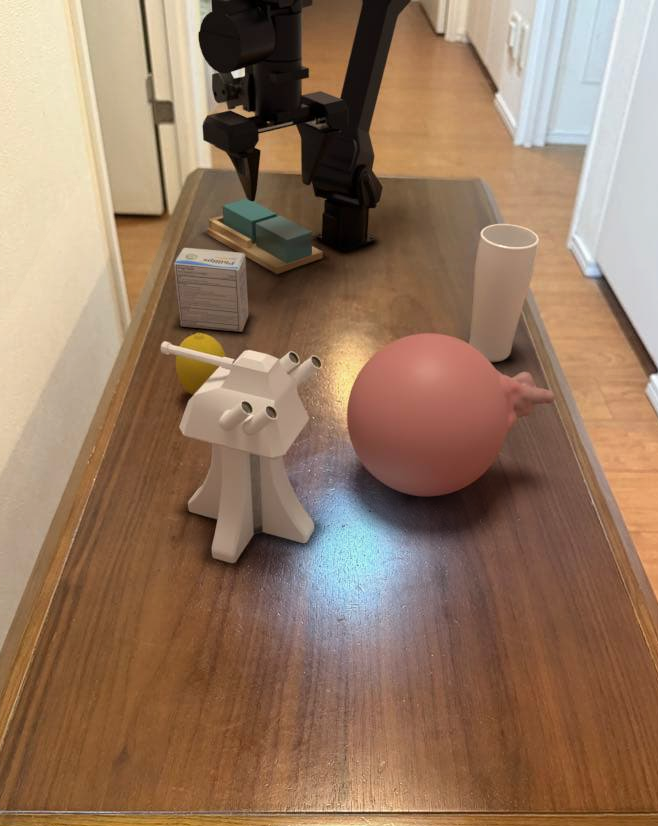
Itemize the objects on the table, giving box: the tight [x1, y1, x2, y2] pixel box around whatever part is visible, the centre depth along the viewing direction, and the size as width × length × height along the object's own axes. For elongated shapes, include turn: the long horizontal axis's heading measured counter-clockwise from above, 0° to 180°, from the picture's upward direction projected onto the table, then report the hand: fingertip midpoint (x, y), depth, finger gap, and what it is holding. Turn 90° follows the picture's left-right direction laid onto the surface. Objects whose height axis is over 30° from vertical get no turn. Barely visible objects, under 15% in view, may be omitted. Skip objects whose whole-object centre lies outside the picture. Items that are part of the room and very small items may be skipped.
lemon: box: [175, 332, 227, 396], centre depth 91 cm, size 6×6×8 cm
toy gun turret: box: [160, 340, 323, 564], centre depth 73 cm, size 12×13×18 cm
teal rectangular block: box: [221, 198, 278, 244], centre depth 123 cm, size 7×5×3 cm, turn 43°
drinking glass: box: [468, 223, 540, 363], centre depth 99 cm, size 7×7×15 cm
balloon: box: [346, 332, 556, 497], centre depth 80 cm, size 15×20×15 cm
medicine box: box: [173, 247, 250, 333], centre depth 103 cm, size 8×4×9 cm, turn 84°
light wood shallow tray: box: [206, 214, 324, 275], centre depth 121 cm, size 16×9×4 cm, turn 44°
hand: (279, 192), depth 107 cm, fingers open, 9 cm apart
